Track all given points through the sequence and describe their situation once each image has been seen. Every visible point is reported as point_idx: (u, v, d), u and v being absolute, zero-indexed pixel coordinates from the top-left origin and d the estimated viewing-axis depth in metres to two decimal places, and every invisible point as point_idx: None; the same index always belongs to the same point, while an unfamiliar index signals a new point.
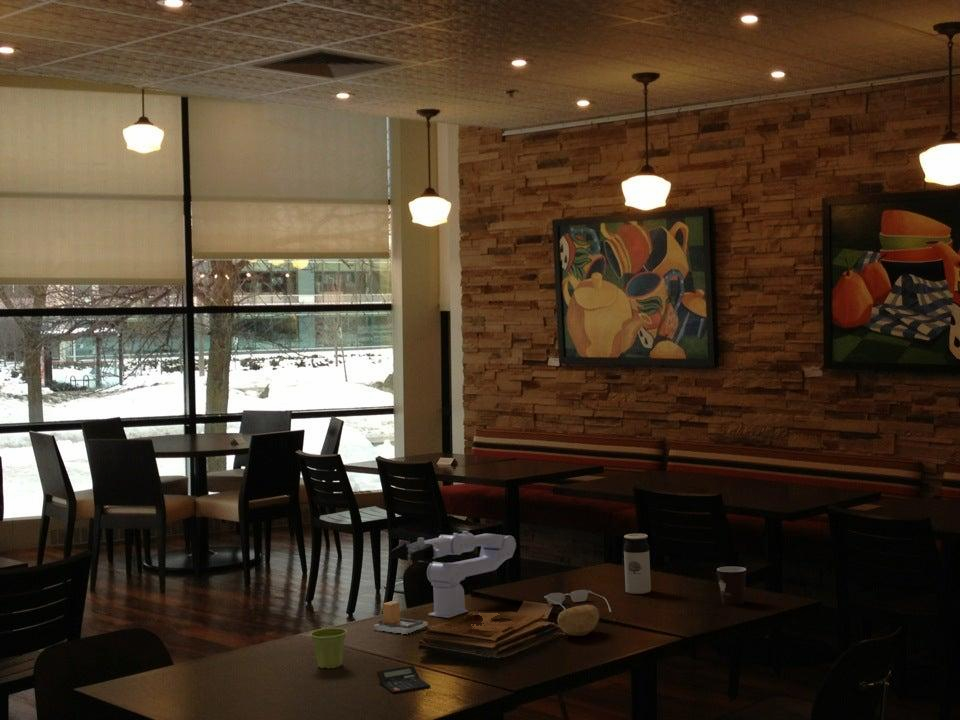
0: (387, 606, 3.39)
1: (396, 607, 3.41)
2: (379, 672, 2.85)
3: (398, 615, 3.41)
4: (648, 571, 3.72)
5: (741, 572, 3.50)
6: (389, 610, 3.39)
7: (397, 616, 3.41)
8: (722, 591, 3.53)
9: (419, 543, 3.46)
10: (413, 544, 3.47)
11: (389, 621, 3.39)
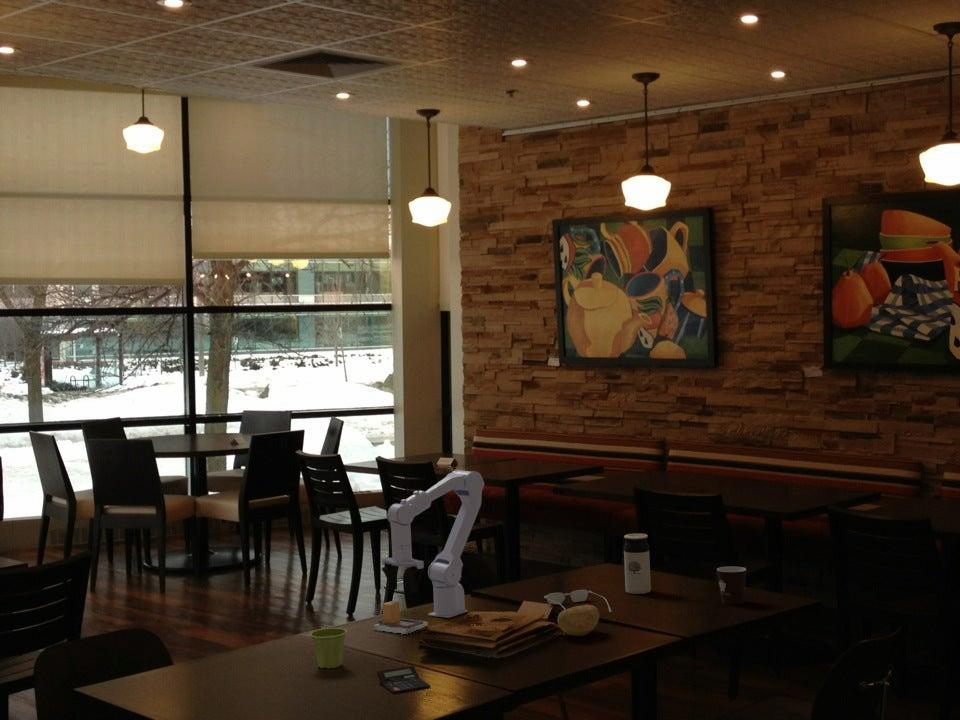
0: (387, 606, 3.39)
1: (396, 607, 3.41)
2: (379, 672, 2.85)
3: (398, 615, 3.41)
4: (648, 571, 3.72)
5: (741, 572, 3.50)
6: (389, 610, 3.39)
7: (397, 616, 3.41)
8: (722, 591, 3.53)
9: None
10: (391, 563, 3.46)
11: (389, 621, 3.39)
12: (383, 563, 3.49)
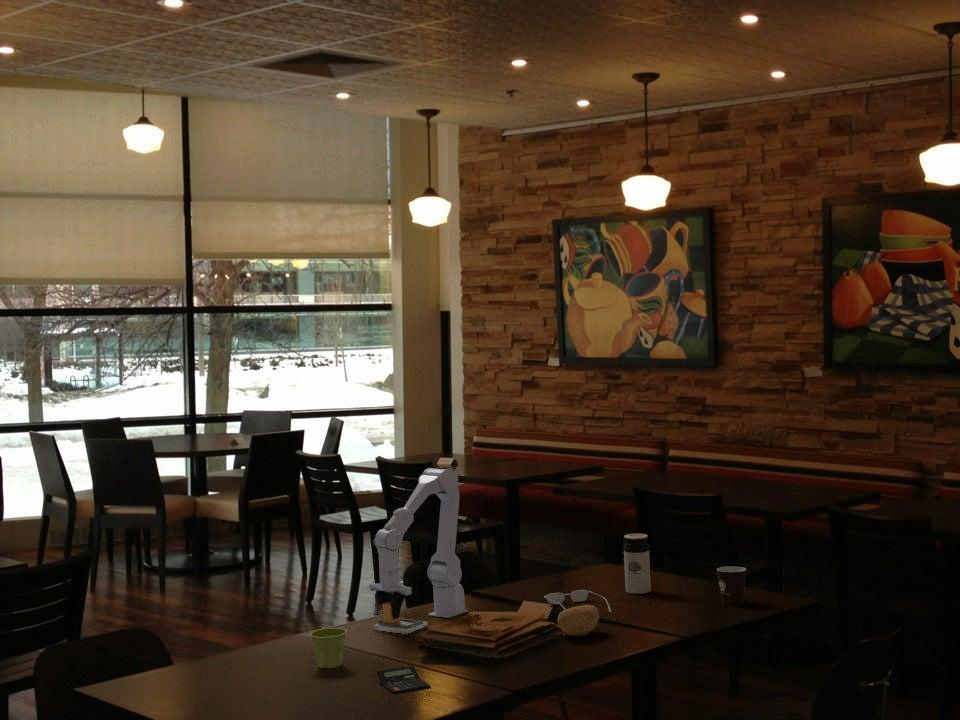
0: (387, 606, 3.39)
1: None
2: (379, 672, 2.85)
3: None
4: (648, 571, 3.72)
5: (741, 572, 3.50)
6: (389, 610, 3.39)
7: None
8: (722, 591, 3.53)
9: None
10: (379, 589, 3.41)
11: (389, 621, 3.39)
12: (371, 589, 3.44)
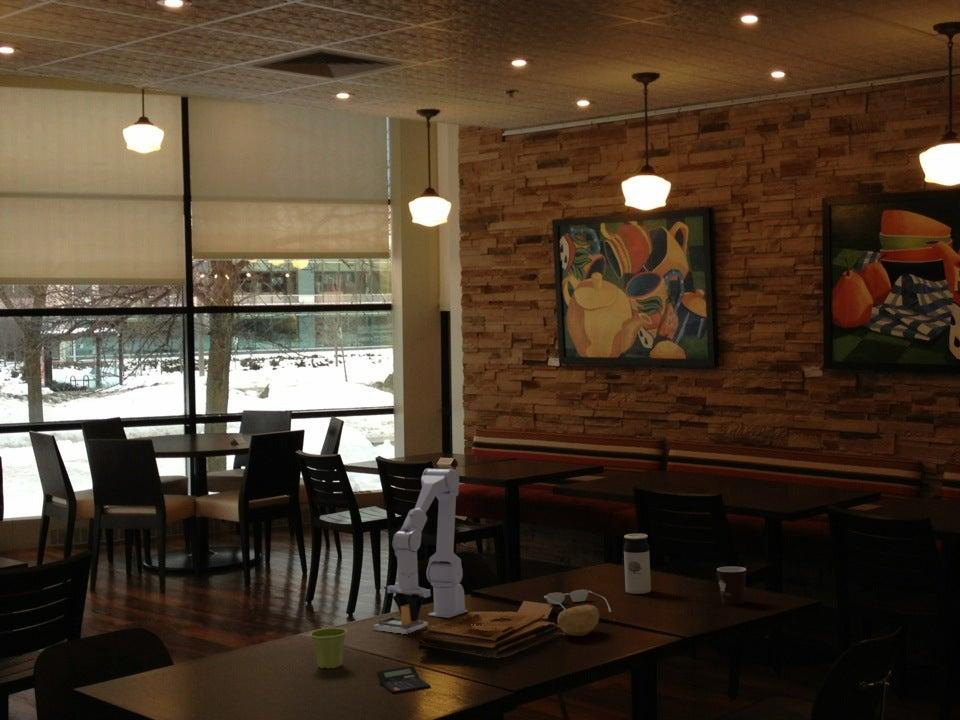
0: (406, 608, 3.35)
1: None
2: (379, 672, 2.85)
3: None
4: (648, 571, 3.72)
5: (741, 572, 3.50)
6: (408, 612, 3.35)
7: None
8: (722, 591, 3.53)
9: None
10: (397, 591, 3.37)
11: (408, 624, 3.35)
12: (389, 591, 3.40)
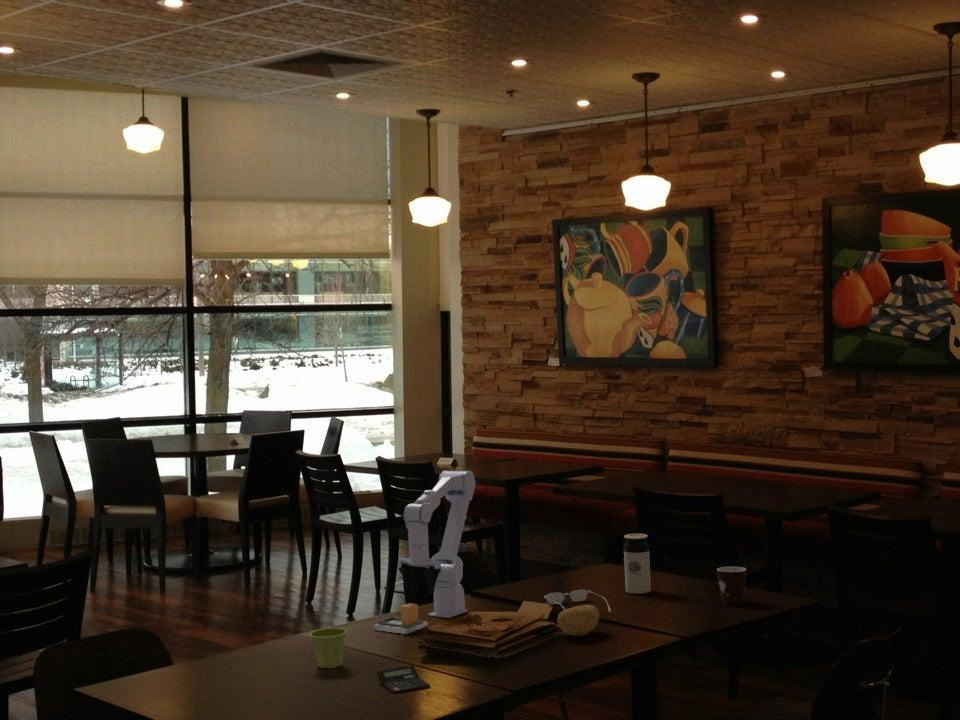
0: (406, 608, 3.35)
1: (415, 609, 3.37)
2: (379, 672, 2.85)
3: (417, 617, 3.37)
4: (648, 571, 3.72)
5: (741, 572, 3.50)
6: (408, 612, 3.35)
7: (416, 618, 3.37)
8: (722, 591, 3.53)
9: None
10: (408, 563, 3.42)
11: (408, 624, 3.35)
12: (400, 563, 3.45)
